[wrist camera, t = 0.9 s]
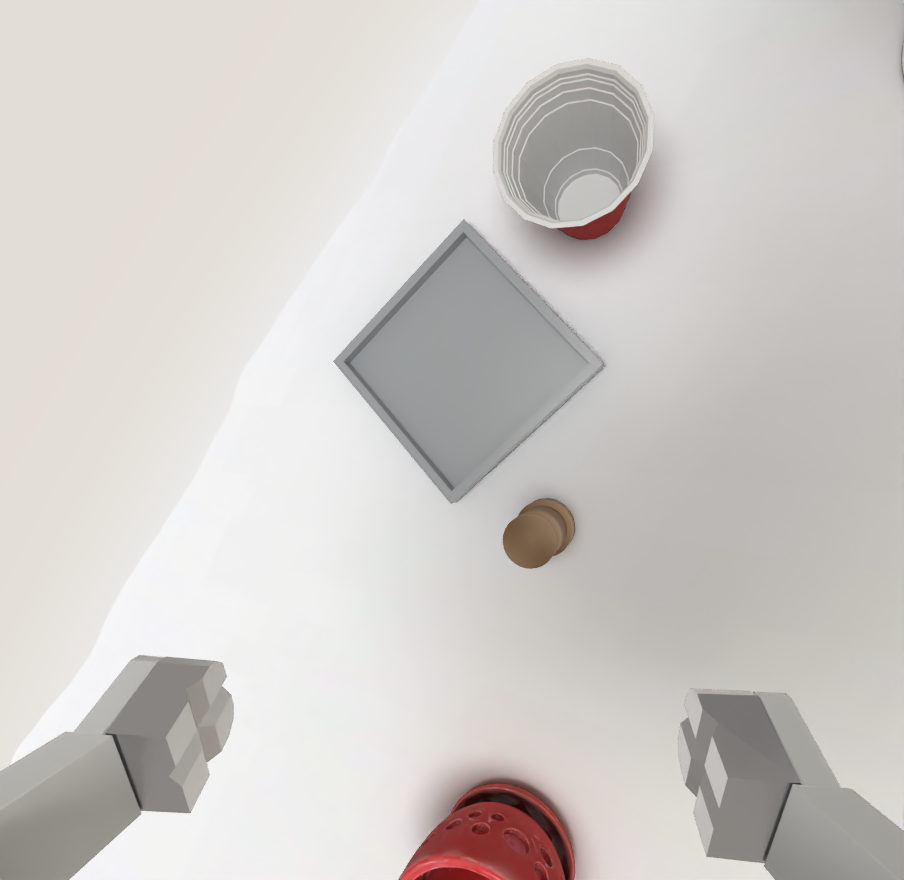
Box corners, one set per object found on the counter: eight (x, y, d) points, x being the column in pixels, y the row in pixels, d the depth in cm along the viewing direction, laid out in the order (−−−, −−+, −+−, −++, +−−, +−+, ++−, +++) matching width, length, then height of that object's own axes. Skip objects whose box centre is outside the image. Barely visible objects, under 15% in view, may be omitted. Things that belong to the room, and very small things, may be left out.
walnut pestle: (549, 487, 51) (531, 497, 43) (586, 529, 50) (574, 547, 42) (509, 521, 52) (485, 537, 44) (545, 563, 51) (526, 586, 43)
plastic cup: (502, 232, 52) (459, 176, 40) (574, 122, 49) (550, 30, 38) (602, 296, 49) (586, 255, 38) (683, 182, 47) (692, 102, 35)
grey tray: (469, 225, 53) (463, 219, 51) (605, 365, 49) (603, 363, 47) (342, 363, 57) (333, 361, 56) (457, 501, 53) (450, 503, 52)
